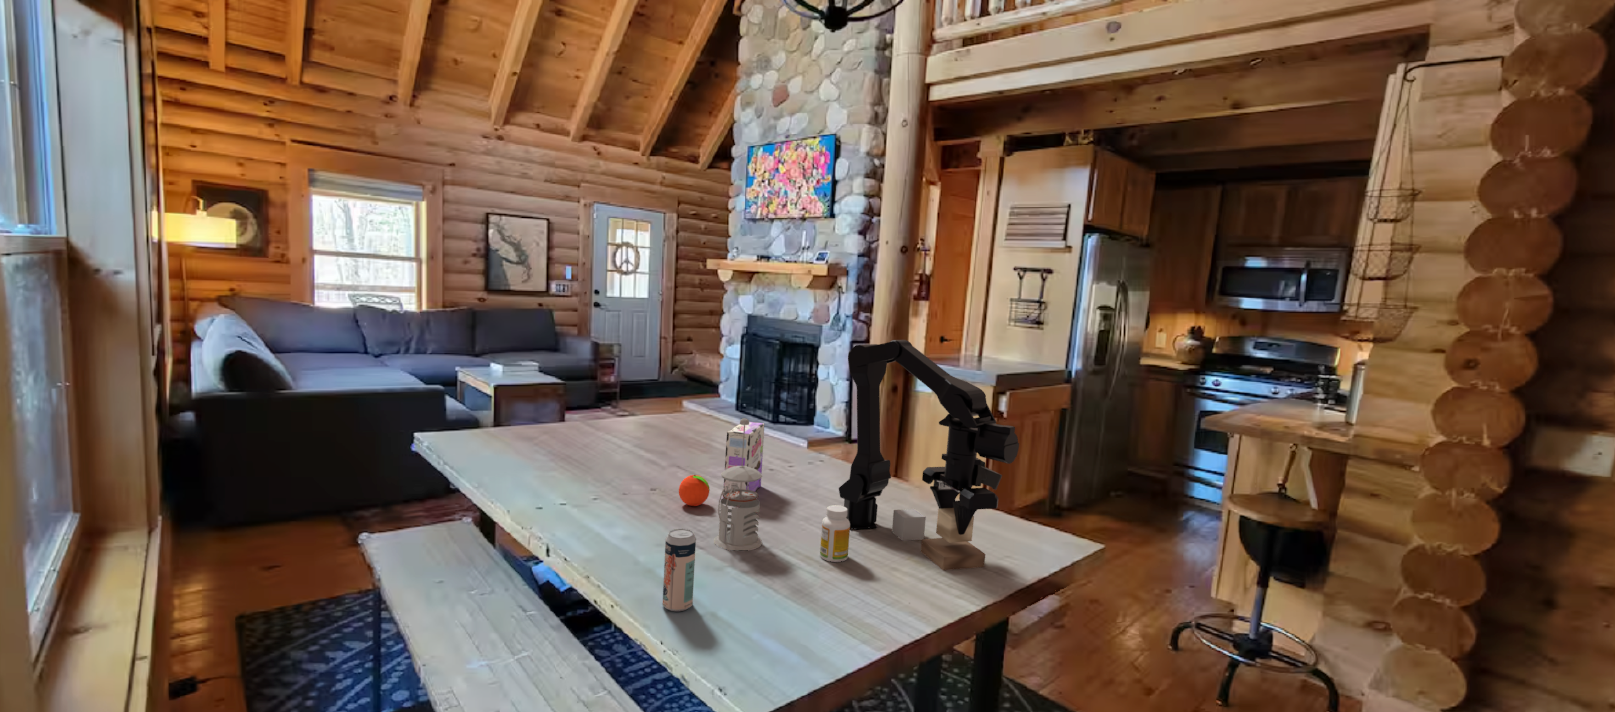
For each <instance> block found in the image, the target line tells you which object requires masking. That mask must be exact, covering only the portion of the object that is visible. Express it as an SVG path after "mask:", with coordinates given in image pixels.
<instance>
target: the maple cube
mask: <svg viewBox="0 0 1615 712" xmlns="http://www.w3.org/2000/svg"><path fill="white" fill-rule="evenodd" d="M974 522H975V515H973V517H972V519H971V521H970V523H969V525H968V527H967V529H966V532H965V534H963V535H960V534H959V533H958V529H957V525H956V519H955V513H954V508H943V509H939V508H938V509H937V519H936V529H935V530H936V531H935V534H936V535H938V536H939V537H940V538H943V539H945V540H946V541H947V542H949V543H952V542H966V541H968V542H972V541H973V540H972V539H973V531H974V530H973V529H974Z"/></svg>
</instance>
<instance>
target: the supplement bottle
mask: <svg viewBox="0 0 1615 712" xmlns="http://www.w3.org/2000/svg"><path fill="white" fill-rule="evenodd" d="M847 511H848V510H847V508H846V507H844V505H840V504H839V505H838V504H836V505H835V504H834V505H833V504H832V505H828V506H827V507H826V516H825V517H823V519H822V521H821V522H822V523H821V531H820V532H821V533H820V534H821V535H820V548H819V549H820V550H819V556H820V557H821V558H822V560H825V561H827V562H830V561H831V563H841V561H842V562H845V561H847V559H848V557H849V546H850V544H849V543H850V532H851V531H850V530H851V529H850V522H849V520H848V519H847V518H846V517H847Z"/></svg>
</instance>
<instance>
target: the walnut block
mask: <svg viewBox="0 0 1615 712" xmlns="http://www.w3.org/2000/svg"><path fill="white" fill-rule="evenodd" d="M920 544H921V545H920V552H921V554H923V555H924V556H925V557H926V558H928V559H929V560H930V561H931V562H932V563H933V564H935V565H936V566H937V567H938V568H939V569H941V570H942V571H950V570H952V571H953V570H964V569H975V568H985V562H986V561H985V560H986V553H985V552H984V551H982V550H980V549H979V548H978V547H976V546H975V545H973V544H972V543H971V542H970V541H966V542H952V543H949V542H947V541H946V540H945V539H943V538H942V537H936V538H924V539H922V540H921V542H920Z"/></svg>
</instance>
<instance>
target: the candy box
mask: <svg viewBox="0 0 1615 712" xmlns="http://www.w3.org/2000/svg"><path fill="white" fill-rule="evenodd" d="M743 434H744V425H741V424H740V423H739V424H737V425H736V426H733V428H731V429H730V430H727V431H726V441H725V442H726V443H725V444H726V445H725V459H724V471H725V470H727V469H728V468H730V467H734V466H742V451H743ZM764 434H765V423H763V422H757V421H756V422H754V421H749V425H745V435H744V452H743V466H747V467H751V468H754V469H756V470H757V471H759V472H760V473H761V474H762V471H763V454H764V440H765V439H764V438H765V437H764V436H765V435H764ZM762 475H763V474H762ZM725 486H728V490H729V489H732V488H733V487H735V489H736V488H737V489H740V486H741V482H732V481H728V480H725V479H724V478H723V489H724V488H725ZM760 487H762V477H761V478H760V479H759V480H757V481H753V482H742V487H741V489H745V490H751V491H755V492H756V491H757V490H758V489H760ZM726 490H727V487H726V488H725V489H724V491H723V490H722V491H723V492H725V491H726ZM723 498H724V497H723V496H722V499H723Z"/></svg>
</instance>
